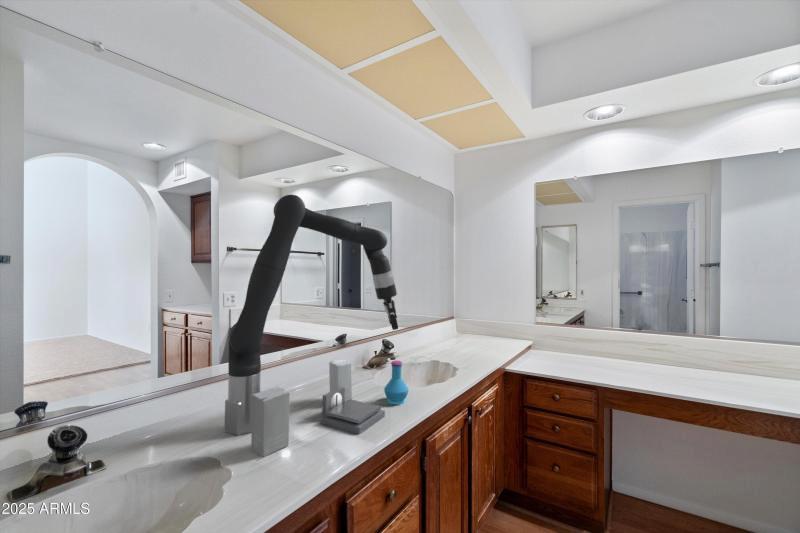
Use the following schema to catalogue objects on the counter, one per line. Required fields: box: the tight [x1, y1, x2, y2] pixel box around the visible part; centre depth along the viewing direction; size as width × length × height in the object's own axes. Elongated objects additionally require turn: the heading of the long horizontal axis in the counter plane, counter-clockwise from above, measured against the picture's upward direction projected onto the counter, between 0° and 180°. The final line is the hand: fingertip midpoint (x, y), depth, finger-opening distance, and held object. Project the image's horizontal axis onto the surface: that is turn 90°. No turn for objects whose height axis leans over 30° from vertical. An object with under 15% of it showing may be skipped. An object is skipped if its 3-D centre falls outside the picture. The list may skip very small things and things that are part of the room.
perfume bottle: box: [383, 360, 409, 406], centre depth 138 cm, size 9×9×15 cm
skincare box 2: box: [328, 359, 353, 401], centre depth 136 cm, size 8×6×15 cm
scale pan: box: [326, 399, 382, 423], centre depth 120 cm, size 13×13×2 cm
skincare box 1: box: [250, 386, 291, 458], centre depth 100 cm, size 8×7×16 cm
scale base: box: [320, 387, 386, 435], centre depth 120 cm, size 15×17×8 cm
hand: (394, 326), depth 136 cm, fingers open, 8 cm apart
